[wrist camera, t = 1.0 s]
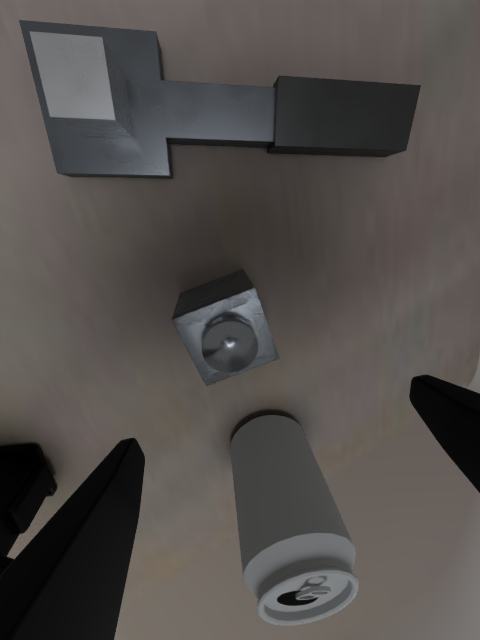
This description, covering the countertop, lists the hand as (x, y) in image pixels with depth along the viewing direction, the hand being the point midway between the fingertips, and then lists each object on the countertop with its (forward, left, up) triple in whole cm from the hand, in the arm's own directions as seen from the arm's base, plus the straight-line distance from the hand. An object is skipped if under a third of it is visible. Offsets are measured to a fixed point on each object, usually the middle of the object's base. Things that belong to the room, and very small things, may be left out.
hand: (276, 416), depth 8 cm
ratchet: (0, +11, -12) cm, 17 cm away
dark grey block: (-1, -1, -12) cm, 12 cm away
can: (+3, -15, -13) cm, 20 cm away
